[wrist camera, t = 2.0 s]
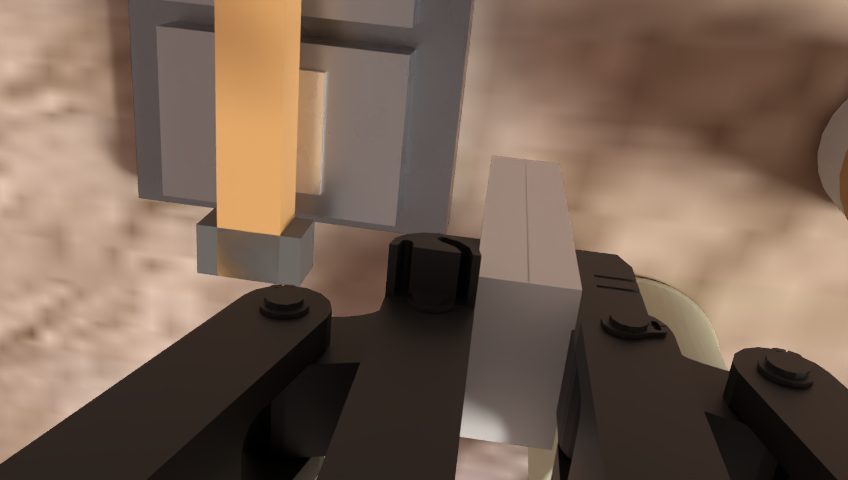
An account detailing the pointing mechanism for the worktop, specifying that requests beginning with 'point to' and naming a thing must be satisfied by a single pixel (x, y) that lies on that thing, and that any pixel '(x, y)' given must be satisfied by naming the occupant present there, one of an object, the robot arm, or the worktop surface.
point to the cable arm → (256, 147)
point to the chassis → (317, 108)
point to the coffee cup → (835, 158)
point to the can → (691, 338)
